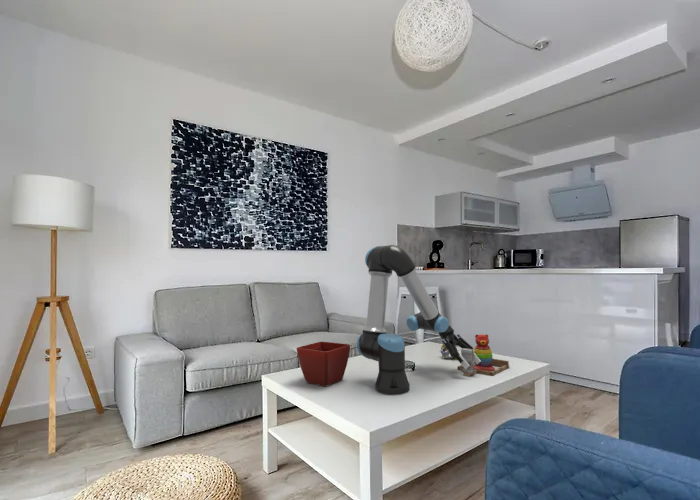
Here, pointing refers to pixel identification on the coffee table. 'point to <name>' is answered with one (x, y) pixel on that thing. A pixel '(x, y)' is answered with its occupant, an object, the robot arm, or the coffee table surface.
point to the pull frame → (469, 358)
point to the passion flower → (445, 352)
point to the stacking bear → (483, 353)
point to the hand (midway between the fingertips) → (473, 365)
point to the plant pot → (323, 362)
